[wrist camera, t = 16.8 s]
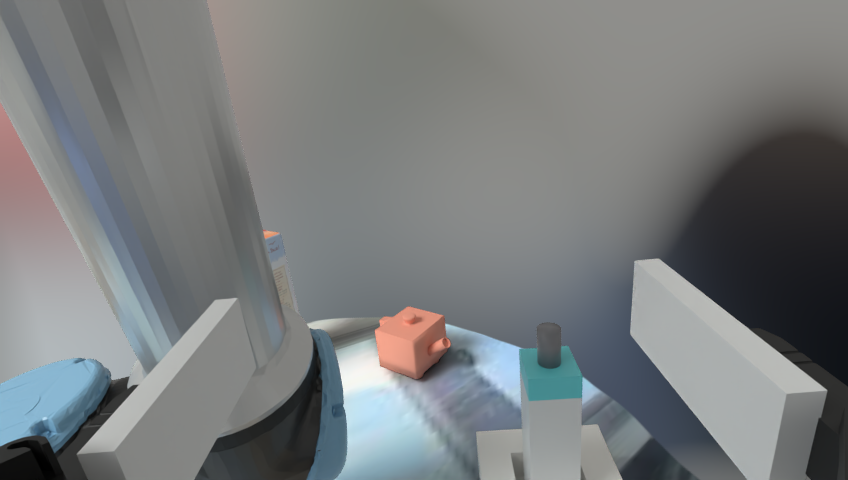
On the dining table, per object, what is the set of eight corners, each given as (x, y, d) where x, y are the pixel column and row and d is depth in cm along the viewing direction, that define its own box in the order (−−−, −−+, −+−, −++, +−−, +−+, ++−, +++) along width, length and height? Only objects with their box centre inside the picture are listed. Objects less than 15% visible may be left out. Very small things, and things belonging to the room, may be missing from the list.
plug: (532, 525, 40) (527, 344, 34) (524, 486, 43) (518, 317, 37) (579, 523, 39) (583, 340, 33) (567, 484, 43) (568, 313, 37)
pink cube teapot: (436, 393, 62) (430, 340, 59) (370, 367, 69) (362, 319, 66) (466, 362, 68) (462, 313, 65) (402, 342, 75) (396, 296, 72)
